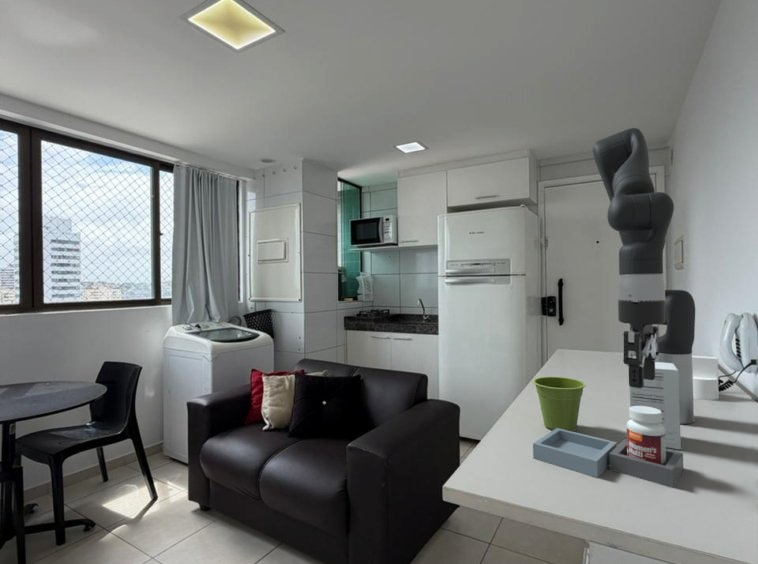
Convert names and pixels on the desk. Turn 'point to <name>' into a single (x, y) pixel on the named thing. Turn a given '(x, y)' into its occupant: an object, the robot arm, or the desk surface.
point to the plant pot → (559, 401)
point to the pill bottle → (646, 435)
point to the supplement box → (661, 400)
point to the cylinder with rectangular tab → (705, 378)
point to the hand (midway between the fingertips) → (642, 383)
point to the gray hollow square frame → (647, 466)
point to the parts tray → (574, 451)
